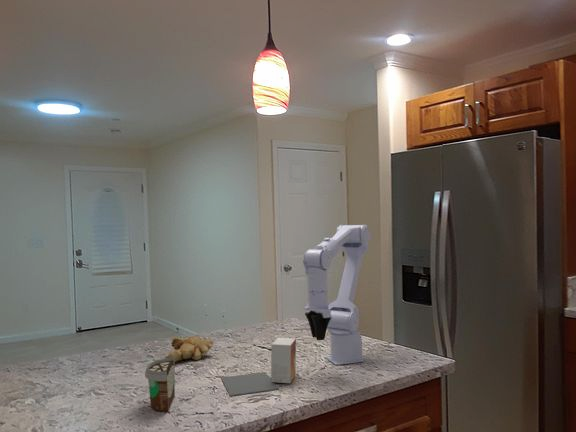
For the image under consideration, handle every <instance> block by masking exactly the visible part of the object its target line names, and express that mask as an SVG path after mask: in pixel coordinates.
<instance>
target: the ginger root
mask: <svg viewBox="0 0 576 432" xmlns="http://www.w3.org/2000/svg"><path fill="white" fill-rule="evenodd" d="M171 340H172V341H171V346H172V347H173V350H170V351H169V353H168V354H167V355H166V357H165V358H174V360H175V362H179V361H182V360H189V359H192V360H195V361H198V360H200V359H201V358H202V356H203V355H206V354H208V352H209V351H210V350H211V349H212V347H213V344H214V339H213V338H212V339H211V338H201V337H198V336H189V337H188V336H187V337H184V338H182V337H177V336H176V337H174V338H172V339H171Z"/></svg>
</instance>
